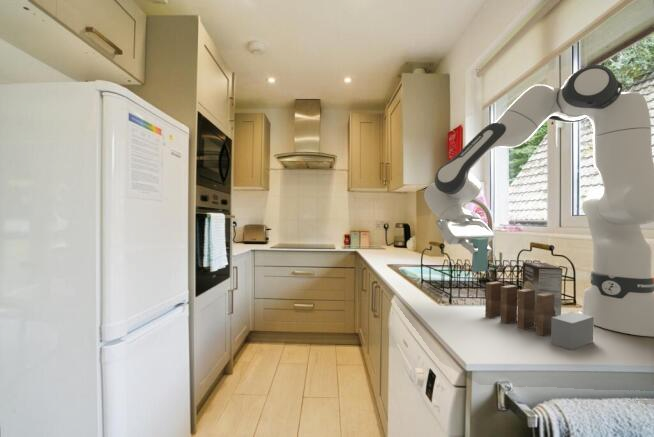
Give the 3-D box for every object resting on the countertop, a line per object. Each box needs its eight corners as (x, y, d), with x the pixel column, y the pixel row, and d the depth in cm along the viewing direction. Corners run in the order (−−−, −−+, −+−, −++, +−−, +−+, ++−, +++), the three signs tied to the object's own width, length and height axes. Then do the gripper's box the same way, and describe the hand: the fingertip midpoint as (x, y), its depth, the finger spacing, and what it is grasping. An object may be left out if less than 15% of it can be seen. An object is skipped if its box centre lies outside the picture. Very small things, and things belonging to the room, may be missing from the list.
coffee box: (520, 313, 87) (521, 261, 86) (543, 315, 85) (544, 262, 85) (536, 324, 78) (537, 266, 77) (562, 326, 76) (563, 267, 76)
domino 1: (472, 270, 87) (472, 238, 87) (482, 269, 89) (483, 238, 89) (477, 271, 86) (477, 239, 86) (487, 270, 88) (488, 238, 88)
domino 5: (535, 333, 71) (536, 294, 71) (546, 330, 73) (547, 292, 73) (542, 336, 70) (543, 296, 70) (553, 332, 72) (554, 294, 72)
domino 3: (500, 321, 79) (501, 286, 79) (511, 319, 81) (511, 284, 81) (506, 323, 78) (506, 287, 78) (516, 321, 80) (517, 286, 80)
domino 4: (517, 327, 75) (517, 290, 75) (527, 324, 77) (528, 288, 77) (523, 329, 74) (524, 291, 74) (534, 326, 76) (534, 289, 76)
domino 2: (485, 316, 83) (485, 283, 83) (495, 314, 86) (496, 281, 85) (490, 318, 82) (491, 284, 82) (501, 315, 84) (501, 282, 84)
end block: (572, 335, 70) (573, 311, 70) (593, 341, 67) (593, 316, 67) (551, 342, 66) (551, 317, 66) (571, 350, 62) (572, 323, 62)
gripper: (439, 213, 89) (466, 246, 80) (481, 214, 98) (509, 244, 89) (428, 226, 93) (452, 260, 84) (469, 226, 102) (495, 256, 93)
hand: (482, 252), depth 87 cm, fingers closed on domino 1, 5 cm apart
